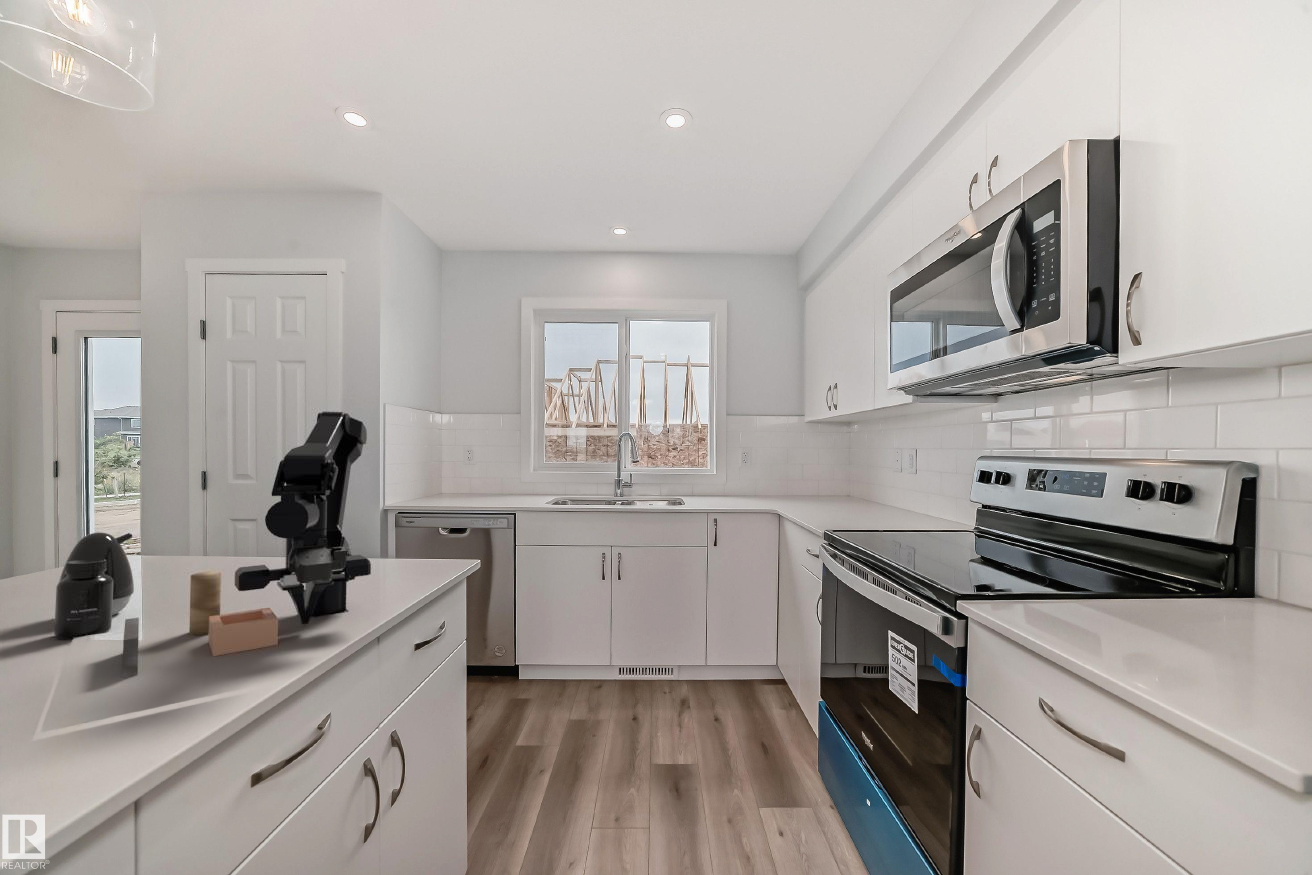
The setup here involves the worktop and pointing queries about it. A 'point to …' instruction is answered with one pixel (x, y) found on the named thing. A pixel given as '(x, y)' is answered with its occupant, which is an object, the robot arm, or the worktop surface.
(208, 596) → the dowel
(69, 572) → the supplement bottle
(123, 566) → the pump dispenser
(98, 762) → the worktop surface
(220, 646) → the slider block
